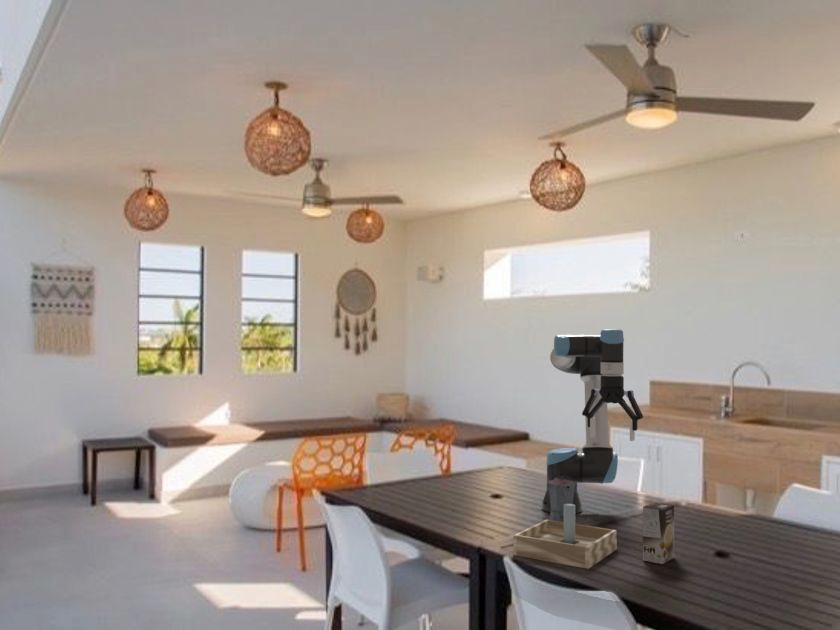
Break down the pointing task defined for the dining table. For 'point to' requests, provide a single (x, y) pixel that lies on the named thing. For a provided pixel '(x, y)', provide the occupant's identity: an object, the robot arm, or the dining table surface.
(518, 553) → the box
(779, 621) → the dining table surface
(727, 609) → the dining table surface
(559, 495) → the moka pot
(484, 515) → the dining table surface
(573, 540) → the peg
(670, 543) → the coffee box
